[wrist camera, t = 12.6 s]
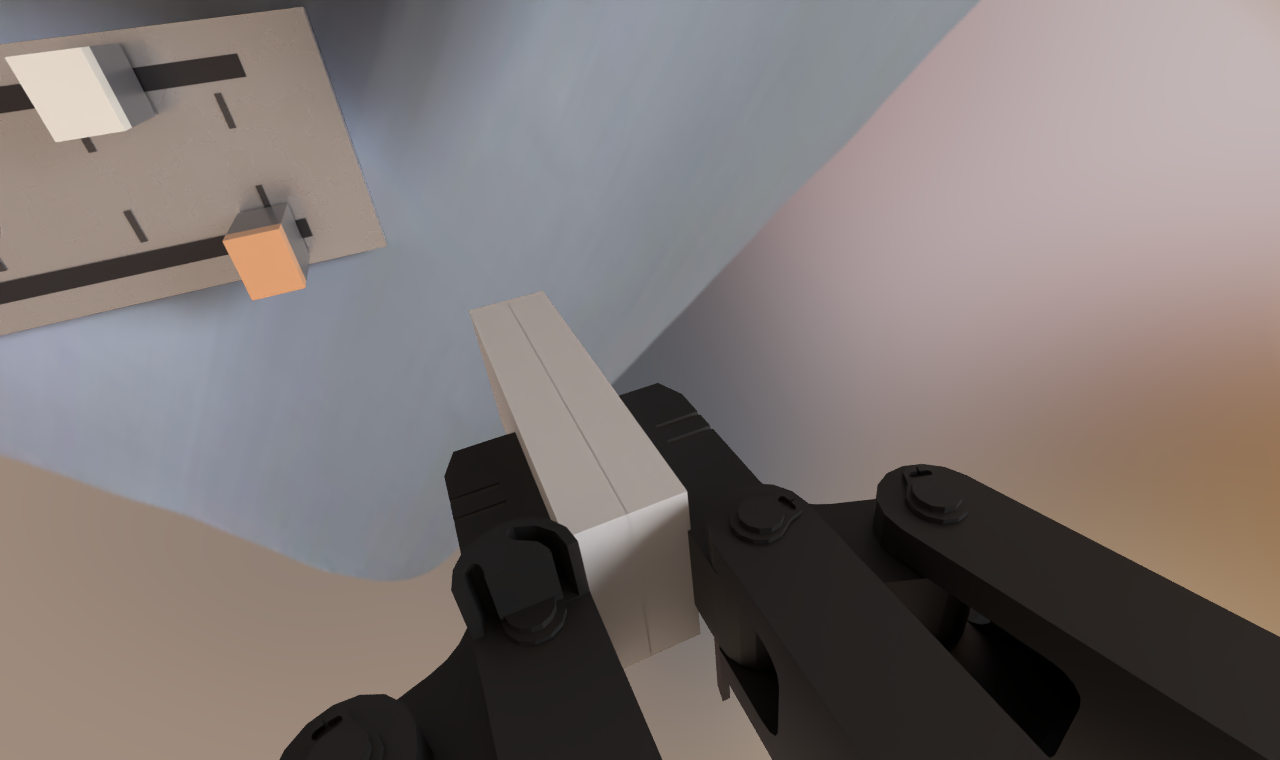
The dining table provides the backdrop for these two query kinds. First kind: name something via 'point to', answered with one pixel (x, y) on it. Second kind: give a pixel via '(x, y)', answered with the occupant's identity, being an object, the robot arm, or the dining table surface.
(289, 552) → the dining table surface
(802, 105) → the dining table surface
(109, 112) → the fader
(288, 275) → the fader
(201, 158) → the console
